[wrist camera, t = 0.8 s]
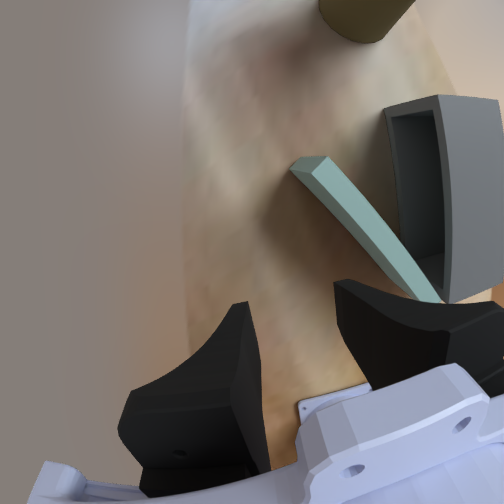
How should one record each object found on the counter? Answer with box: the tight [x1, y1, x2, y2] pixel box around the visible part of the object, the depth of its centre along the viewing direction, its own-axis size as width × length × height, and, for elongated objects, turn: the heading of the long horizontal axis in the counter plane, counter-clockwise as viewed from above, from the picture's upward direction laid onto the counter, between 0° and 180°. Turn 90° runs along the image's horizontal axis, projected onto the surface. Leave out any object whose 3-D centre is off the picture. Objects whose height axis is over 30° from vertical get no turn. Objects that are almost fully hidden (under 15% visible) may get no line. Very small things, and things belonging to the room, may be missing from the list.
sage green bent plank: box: [289, 156, 441, 303], centre depth 18 cm, size 12×1×6 cm, turn 46°
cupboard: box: [384, 95, 504, 304], centre depth 18 cm, size 13×6×7 cm, turn 11°
